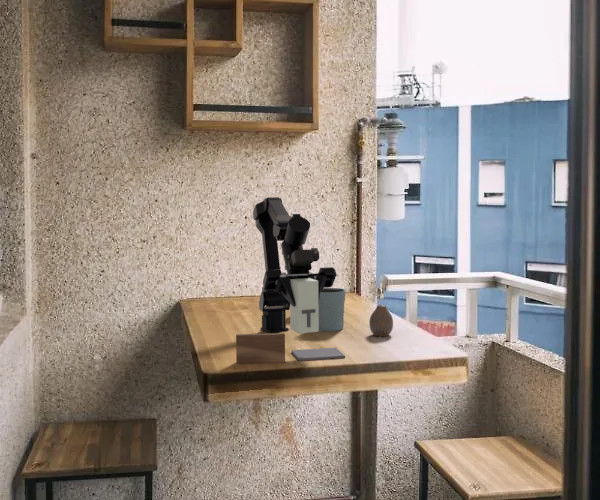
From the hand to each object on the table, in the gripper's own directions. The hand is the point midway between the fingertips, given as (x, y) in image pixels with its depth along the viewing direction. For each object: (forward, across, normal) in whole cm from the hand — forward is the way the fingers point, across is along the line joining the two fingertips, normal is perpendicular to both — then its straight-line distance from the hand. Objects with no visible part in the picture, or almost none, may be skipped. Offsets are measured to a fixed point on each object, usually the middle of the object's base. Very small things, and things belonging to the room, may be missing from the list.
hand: (306, 304), depth 170 cm
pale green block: (+4, 0, +6) cm, 7 cm away
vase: (-3, +28, +23) cm, 36 cm away
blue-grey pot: (-13, +16, +32) cm, 39 cm away
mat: (+9, +3, +10) cm, 14 cm away
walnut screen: (+11, -12, +8) cm, 18 cm away
